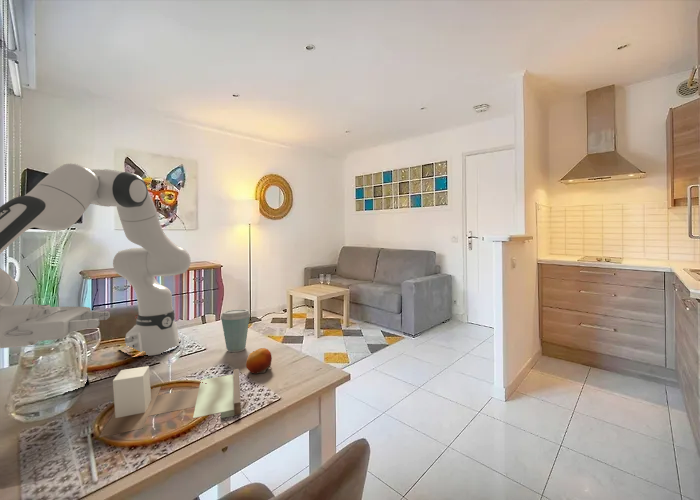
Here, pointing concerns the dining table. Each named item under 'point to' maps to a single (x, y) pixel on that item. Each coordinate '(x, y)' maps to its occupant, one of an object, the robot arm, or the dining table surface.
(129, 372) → the cream block
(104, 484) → the dining table surface
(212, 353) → the dining table surface
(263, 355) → the fruit
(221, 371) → the dining table surface
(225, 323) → the disposable coffee cup
